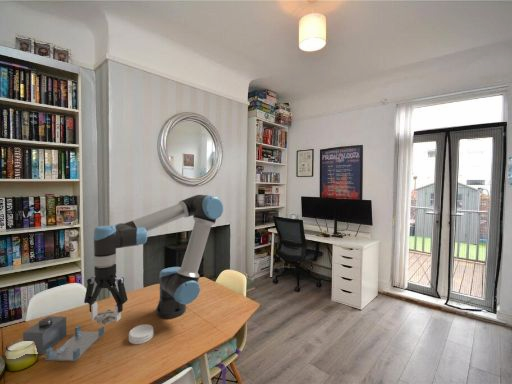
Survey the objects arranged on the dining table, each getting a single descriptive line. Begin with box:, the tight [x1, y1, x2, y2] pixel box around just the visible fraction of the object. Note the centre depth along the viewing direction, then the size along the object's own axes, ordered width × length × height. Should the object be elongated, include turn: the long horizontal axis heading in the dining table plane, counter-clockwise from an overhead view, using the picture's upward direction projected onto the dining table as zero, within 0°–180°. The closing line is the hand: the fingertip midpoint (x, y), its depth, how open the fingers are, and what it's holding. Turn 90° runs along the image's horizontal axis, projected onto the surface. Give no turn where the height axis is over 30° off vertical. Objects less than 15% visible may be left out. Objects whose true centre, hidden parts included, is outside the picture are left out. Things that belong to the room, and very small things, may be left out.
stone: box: [95, 309, 115, 326], centre depth 103 cm, size 10×7×3 cm
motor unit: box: [22, 315, 106, 362], centre depth 107 cm, size 24×18×10 cm
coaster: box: [128, 323, 154, 345], centre depth 113 cm, size 10×10×4 cm
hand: (106, 319), depth 102 cm, fingers closed on stone, 9 cm apart
